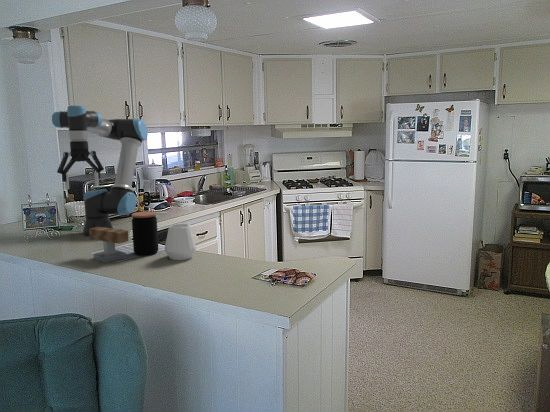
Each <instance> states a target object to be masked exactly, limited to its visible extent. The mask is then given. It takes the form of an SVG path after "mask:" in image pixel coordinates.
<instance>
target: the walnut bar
mask: <svg viewBox="0 0 550 412" xmlns="http://www.w3.org/2000/svg"><path fill="white" fill-rule="evenodd" d="M89 233H90V236H89V240H94V241H101V242H103V241H106V242H112V243H115V244H122V243H125V242H129V230H127V229H126V230H125V229H124V230H123V229H118V228H113V229H112V228H105V227H95V228H90V229H89Z"/></svg>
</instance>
